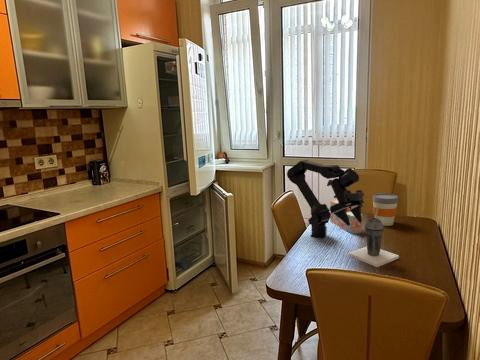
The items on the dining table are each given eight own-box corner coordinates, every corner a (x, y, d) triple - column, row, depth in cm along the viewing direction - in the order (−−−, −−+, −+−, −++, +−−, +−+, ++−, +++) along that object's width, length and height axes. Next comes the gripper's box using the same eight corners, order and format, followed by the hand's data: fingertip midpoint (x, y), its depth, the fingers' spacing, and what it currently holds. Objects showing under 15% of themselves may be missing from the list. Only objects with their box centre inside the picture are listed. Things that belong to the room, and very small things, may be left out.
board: (348, 255, 146) (348, 252, 146) (370, 247, 153) (370, 245, 153) (376, 267, 134) (376, 264, 134) (398, 258, 141) (398, 255, 141)
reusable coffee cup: (399, 222, 186) (401, 195, 183) (392, 228, 177) (393, 200, 174) (376, 218, 194) (377, 192, 191) (368, 224, 185) (369, 196, 182)
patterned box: (362, 232, 173) (363, 209, 170) (351, 234, 171) (351, 210, 169) (340, 220, 193) (340, 199, 191) (329, 221, 192) (330, 200, 189)
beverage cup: (360, 252, 145) (361, 207, 141) (372, 249, 148) (374, 204, 144) (373, 259, 139) (375, 211, 135) (386, 255, 142) (389, 208, 138)
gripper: (342, 185, 143) (358, 220, 139) (366, 182, 155) (381, 214, 151) (323, 195, 151) (337, 229, 147) (346, 191, 163) (360, 222, 159)
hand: (355, 223), depth 150 cm, fingers open, 9 cm apart
